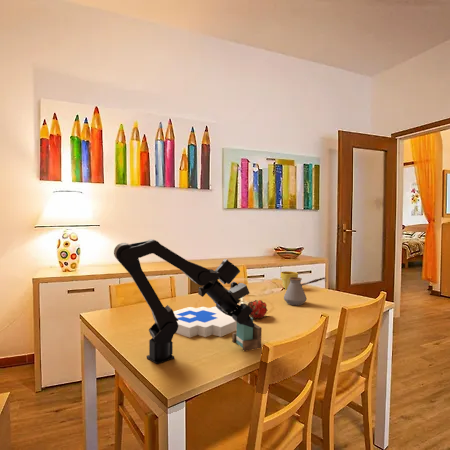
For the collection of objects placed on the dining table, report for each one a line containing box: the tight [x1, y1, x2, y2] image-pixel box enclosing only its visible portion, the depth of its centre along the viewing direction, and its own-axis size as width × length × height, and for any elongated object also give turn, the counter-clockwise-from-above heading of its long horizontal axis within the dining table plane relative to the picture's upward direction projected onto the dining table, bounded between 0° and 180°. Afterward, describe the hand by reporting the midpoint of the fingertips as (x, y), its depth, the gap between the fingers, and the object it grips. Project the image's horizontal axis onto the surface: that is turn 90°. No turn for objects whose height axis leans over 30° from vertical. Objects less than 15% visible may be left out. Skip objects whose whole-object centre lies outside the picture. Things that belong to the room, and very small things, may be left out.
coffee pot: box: [283, 276, 327, 306], centre depth 175 cm, size 21×12×15 cm, turn 57°
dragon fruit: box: [247, 299, 269, 320], centre depth 154 cm, size 8×8×12 cm
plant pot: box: [280, 270, 299, 291], centre depth 211 cm, size 10×10×10 cm
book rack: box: [231, 322, 262, 352], centre depth 122 cm, size 6×9×7 cm
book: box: [235, 317, 254, 349], centre depth 122 cm, size 4×6×10 cm, turn 24°
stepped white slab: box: [173, 305, 237, 338], centre depth 143 cm, size 28×4×28 cm
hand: (248, 323), depth 123 cm, fingers open, 7 cm apart
